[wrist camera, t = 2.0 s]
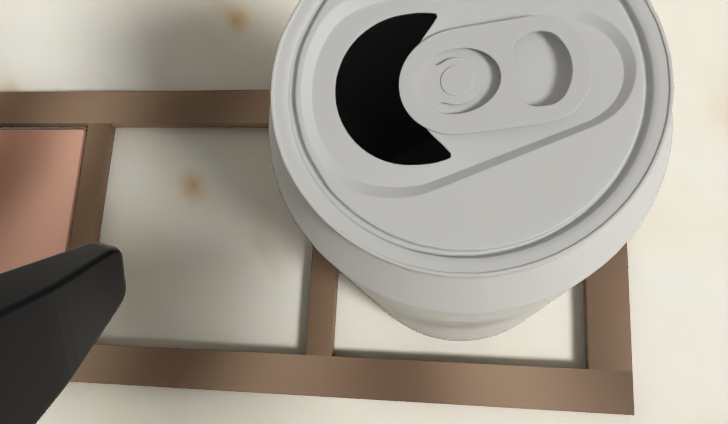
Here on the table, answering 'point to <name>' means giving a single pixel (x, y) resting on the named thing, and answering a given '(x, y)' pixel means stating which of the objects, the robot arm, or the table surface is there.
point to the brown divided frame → (318, 367)
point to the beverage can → (470, 147)
